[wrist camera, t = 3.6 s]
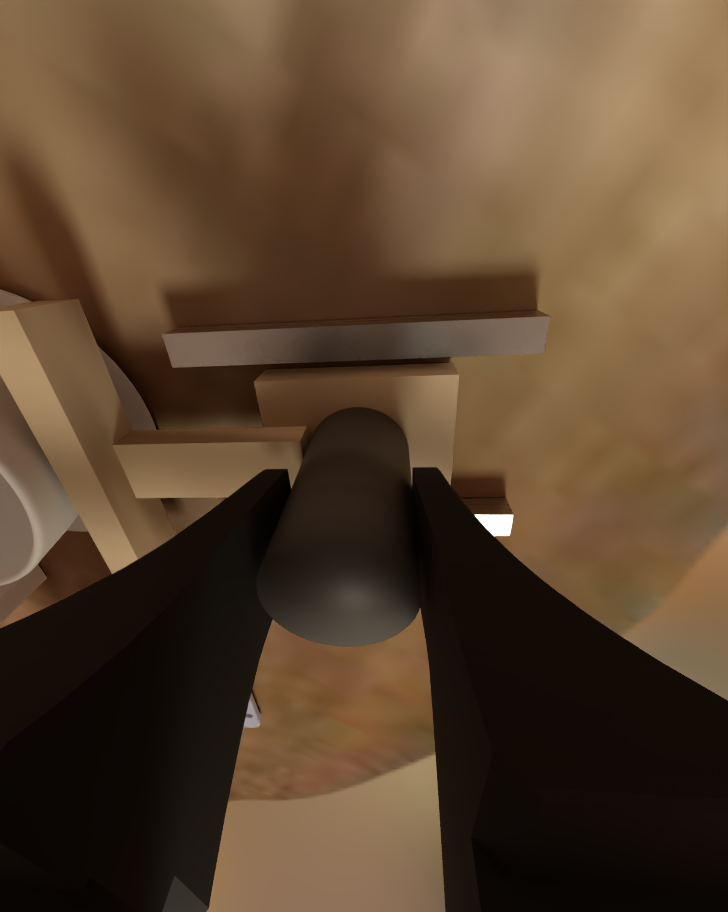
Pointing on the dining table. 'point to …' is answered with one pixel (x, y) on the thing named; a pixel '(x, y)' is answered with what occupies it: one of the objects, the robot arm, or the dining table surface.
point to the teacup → (41, 477)
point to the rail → (369, 352)
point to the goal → (19, 591)
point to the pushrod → (250, 469)
